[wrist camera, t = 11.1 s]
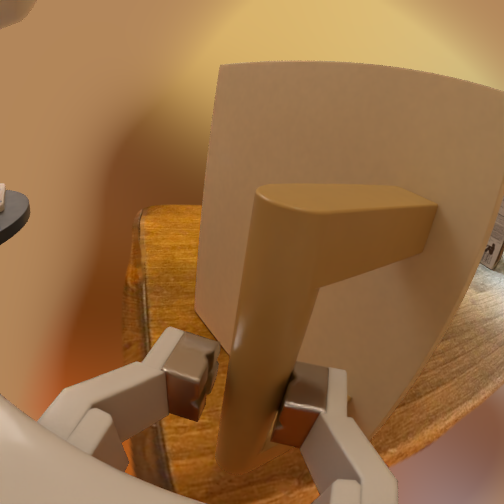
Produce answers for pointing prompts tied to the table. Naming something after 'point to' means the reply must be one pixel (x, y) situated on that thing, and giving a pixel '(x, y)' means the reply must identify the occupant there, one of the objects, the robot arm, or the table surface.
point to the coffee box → (495, 241)
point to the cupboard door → (339, 231)
